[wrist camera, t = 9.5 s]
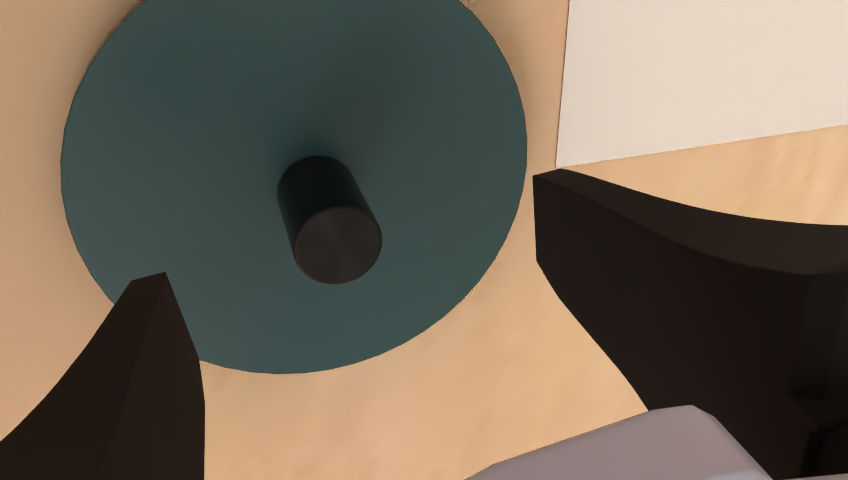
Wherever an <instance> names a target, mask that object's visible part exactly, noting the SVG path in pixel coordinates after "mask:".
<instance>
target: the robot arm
mask: <svg viewBox="0 0 848 480" xmlns="http://www.w3.org/2000/svg"><path fill="white" fill-rule="evenodd" d="M533 196H534V218H535V239H536V260H537V263H538V264H539V266H540V268H541V269H542V271H543V273H544V275H545V276H546V278H547V280H548V281H549V283H550V285H551V286H552V288H553V289H554V291H555V293H556V294H557V296H558V297H559V299H560V300H561V301H562V302H563V303H564V305H565V306H566V307H567V308H568V310H569V311H570V312H571V313H572V314H573V316H574V317H575V318H576V319H577V320H578V322H579V323H580V324H581V325H582V326H583V328H584V329H585V330H586V331H587V332H588V333H589V335H590V336H591V337H592V338H593V339H594V341H595V342H596V343H597V344H598V345H599V346H600V348H601V349H602V350H603V351H604V352H605V353H606V355H607V356H608V357H609V358H610V359H611V361H612V362H613V363H614V364H615V365H616V366H617V368H618V369H619V370H620V371H621V373H622V374H623V375H624V376H625V378H626V379H627V380H628V382H629V383H630V384H631V386H632V387H633V388H634V390H635V391H636V393H637V394H638V396H639V397H640V399H641V400H642V402H643V403H644V405H645V406H646V408H647V409H648V411H647V412H645V413H642V414H639V415H636V416H633V417H630V418H627V419H624V420H621V421H618V422H615V423H612V424H609V425H606V426H604V427H601V428H598V429H595V430H592V431H589V432H586V433H583V434H580V435H577V436H574V437H571V438H568V439H565V440H563V441H560V442H557V443H554V444H551V445H548V446H545V447H542V448H539V449H536V450H533V451H530V452H527V453H524V454H522V455H519V456H516V457H513V458H510V459H507V460H504V461H501V462H498V463H495V464H493V465H491V466H489V467H487V468H485V469H484V470H482V471H480V472H478V473H476V474H474V475H473V476H471V477H469V478H467V479H465V480H848V225H821V224H805V223H794V222H784V221H774V220H765V219H757V218H750V217H744V216H738V215H732V214H727V213H721V212H716V211H711V210H706V209H701V208H697V207H693V206H689V205H685V204H681V203H677V202H673V201H669V200H666V199H662V198H659V197H655V196H652V195H648V194H645V193H642V192H639V191H635V190H632V189H629V188H626V187H623V186H620V185H616V184H613V183H610V182H607V181H604V180H601V179H598V178H595V177H591V176H588V175H585V174H582V173H578V172H574V171H570V170H566V169H557V170H553V171H549V172H545V173H541V174H538V175H534V176H533ZM204 449H205V400H204V392H203V384H202V377H201V370H200V363H199V357H198V354H197V352H196V349H195V346H194V344H193V341H192V339H191V336H190V333H189V331H188V328H187V326H186V323H185V321H184V318H183V315H182V313H181V310H180V308H179V305H178V302H177V300H176V297H175V295H174V292H173V289H172V287H171V284H170V282H169V279H168V276H167V274H166V271H165V272H162V273H158V274H154V275H150V276H146V277H142V278H139V279H135V280H131V281H130V283H129V284H128V285H127V287H126V288H125V290H124V291H123V293H122V294H121V296H120V297H119V299H118V300H117V302H116V303H115V305H114V306H113V308H112V309H111V311H110V312H109V314H108V315H107V317H106V318H105V320H104V321H103V323H102V324H101V326H100V327H99V329H98V330H97V332H96V333H95V334H94V336H93V337H92V339H91V340H90V342H89V343H88V344H87V346H86V347H85V349H84V350H83V351H82V352H81V354H80V355H79V356H78V357H77V359H76V360H75V361H74V362H73V364H72V365H71V366H70V368H69V369H68V370H67V371H66V373H65V374H64V375H63V376H62V378H61V379H60V380H59V382H58V383H57V384H56V385H55V386H54V387H53V389H52V390H51V391H50V392H49V393H48V394H47V395H46V397H45V398H44V399H43V400H42V401H41V402H40V403H39V404H38V405H37V406H36V407H35V408H34V409H33V410H32V411H31V412H30V413H29V415H28V416H27V417H26V418H25V419H24V420H23V421H22V422H21V423H20V424H19V425H18V426H17V427H16V428H15V429H14V430H13V431H12V432H11V433H9V434H8V435H7V436H6V437H5V438H4V439H3V440H2V441H0V480H204Z"/></svg>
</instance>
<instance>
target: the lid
mask: <svg viewBox="0 0 848 480" xmlns="http://www.w3.org/2000/svg"><path fill="white" fill-rule="evenodd" d="M60 165H61V192H62V198H63V203H64V208H65V213H66V218H67V223H68V225H69V228H70V231H71V234H72V236H73V239H74V242H75V245H76V248H77V250H78V252H79V254H80V256H81V257H82V259H83V261H84V263H85V265H86V267H87V268H88V270H89V272H90V274H91V276H92V277H93V278H94V280H95V281H96V282H97V284H98V285H99V286H100V288H101V289H102V290H103V292H104V293H105V294H106V296H107V297H108V298H109V299H110V300H111V301H112V302H113V303H114V304H115V303H116V302H117V300H118V299H119V297H120V296H121V294H122V293H123V291H124V290H125V288H126V287H127V285H128V284H129V283H130V281H131V280H135V279H139V278H142V277H146V276H150V275H154V274H158V273H162V272H165V271H166V274H167V276H168V279H169V282H170V284H171V287H172V289H173V292H174V295H175V297H176V300H177V302H178V305H179V308H180V310H181V313H182V315H183V318H184V321H185V323H186V326H187V328H188V331H189V333H190V336H191V339H192V341H193V344H194V346H195V349H196V352H197V354H198V357H199V360H202V361H205V362H208V363H212V364H215V365H218V366H222V367H225V368H231V369H236V370H242V371H248V372H256V373H270V374H293V373H308V372H316V371H323V370H330V369H334V368H338V367H342V366H347V365H351V364H355V363H358V362H361V361H363V360H366V359H369V358H372V357H375V356H378V355H380V354H382V353H385V352H387V351H389V350H391V349H393V348H395V347H397V346H399V345H402V344H403V343H405V342H407V341H409V340H410V339H412V338H414V337H415V336H417V335H419V334H420V333H422V332H424V331H425V330H426V329H428V328H429V327H431V326H432V325H433V324H435V323H436V322H437V321H439V320H440V319H441V318H443V317H444V316H445V315H446V314H447V313H448V312H450V311H451V310H452V309H453V308H454V307H455V306H456V305H457V304H458V303H459V302H461V301H462V300H463V299H464V298H465V296H466V295H467V294H468V293H469V292H470V291H471V290H472V289H473V287H474V286H475V285H476V284H477V283H478V282H479V281H480V279H481V278H482V277H483V275H484V274H485V272H486V271H487V269H488V268H489V267H490V265H491V264H492V262H493V261H494V260H495V258H496V256H497V254H498V252H499V251H500V249H501V247H502V245H503V243H504V242H505V240H506V238H507V235H508V233H509V231H510V228H511V226H512V223H513V221H514V219H515V216H516V213H517V210H518V206H519V202H520V199H521V195H522V192H523V186H524V179H525V173H526V166H527V134H526V125H525V116H524V111H523V107H522V103H521V99H520V95H519V91H518V87H517V85H516V82H515V80H514V77H513V75H512V73H511V70H510V68H509V65H508V63H507V61H506V59H505V57H504V56H503V54H502V52H501V51H500V49H499V47H498V45H497V44H496V42H495V40H494V39H493V37H492V36H491V35H490V33H489V32H488V31H487V30H486V28H485V27H484V26H483V25H482V23H481V22H480V21H479V20H478V18H477V17H476V16H475V15H474V14H473V13H472V12H471V11H470V10H469V9H468V8H467V7H466V6H465V5H464V4H462V3H461V2H460V1H459V0H143V1H141V2H140V3H139V4H138V5H136V6H135V7H134V8H133V9H132V10H131V11H130V12H129V13H128V14H127V15H126V16H125V17H124V18H123V19H122V21H121V22H120V23H119V24H118V25H117V26H116V27H115V28H114V29H113V30H112V31H111V32H110V33H109V35H108V36H107V38H106V39H105V41H104V42H103V44H102V45H101V46H100V48H99V49H98V51H97V52H96V54H95V55H94V57H93V58H92V60H91V61H90V63H89V65H88V67H87V69H86V71H85V73H84V76H83V78H82V80H81V82H80V84H79V86H78V88H77V90H76V92H75V95H74V98H73V101H72V105H71V108H70V111H69V115H68V118H67V122H66V125H65V129H64V136H63V144H62V152H61V160H60Z"/></svg>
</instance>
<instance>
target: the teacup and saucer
mask: <svg viewBox="0 0 848 480" xmlns="http://www.w3.org/2000/svg"><path fill="white" fill-rule="evenodd" d="M841 125H848V0H570V6H569V17H568V29H567V41H566V52H565V64H564V76H563V88H562V99H561V111H560V123H559V134H558V146H557V158H556V168H559V167H565V166H572V165H579V164H586V163H592V162H599V161H606V160H612V159H619V158H626V157H633V156H639V155H646V154H653V153H660V152H666V151H673V150H680V149H686V148H693V147H700V146H707V145H713V144H720V143H727V142H733V141H740V140H747V139H754V138H760V137H767V136H774V135H780V134H787V133H794V132H801V131H807V130H814V129H821V128H828V127H834V126H841Z"/></svg>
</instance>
